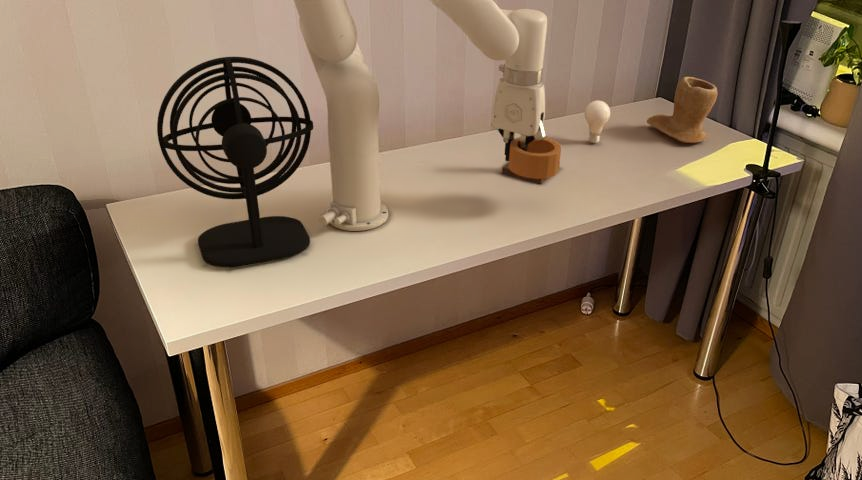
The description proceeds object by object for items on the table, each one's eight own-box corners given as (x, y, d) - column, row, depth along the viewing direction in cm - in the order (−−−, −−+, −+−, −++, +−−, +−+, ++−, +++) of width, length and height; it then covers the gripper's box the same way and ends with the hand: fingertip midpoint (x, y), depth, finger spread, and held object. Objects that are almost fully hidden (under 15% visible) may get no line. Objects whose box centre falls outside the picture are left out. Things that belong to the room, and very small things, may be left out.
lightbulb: (579, 145, 196) (583, 103, 190) (583, 136, 202) (588, 95, 196) (604, 149, 195) (609, 107, 189) (608, 140, 200) (613, 98, 194)
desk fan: (313, 210, 162) (298, 41, 143) (336, 251, 149) (324, 70, 130) (175, 233, 152) (140, 54, 133) (187, 279, 139) (151, 87, 120)
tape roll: (545, 183, 158) (548, 160, 155) (499, 170, 162) (501, 147, 159) (566, 165, 165) (569, 143, 163) (522, 153, 169) (524, 132, 167)
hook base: (541, 184, 177) (541, 177, 176) (501, 173, 181) (502, 167, 180) (559, 168, 184) (559, 162, 184) (521, 158, 188) (521, 152, 187)
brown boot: (717, 142, 202) (729, 85, 194) (682, 149, 197) (693, 91, 189) (678, 121, 213) (688, 67, 205) (644, 128, 208) (653, 72, 200)
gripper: (479, 71, 155) (473, 157, 165) (551, 88, 149) (541, 176, 159) (496, 62, 161) (490, 146, 171) (566, 78, 155) (556, 164, 165)
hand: (515, 160), depth 165 cm, fingers closed on tape roll
